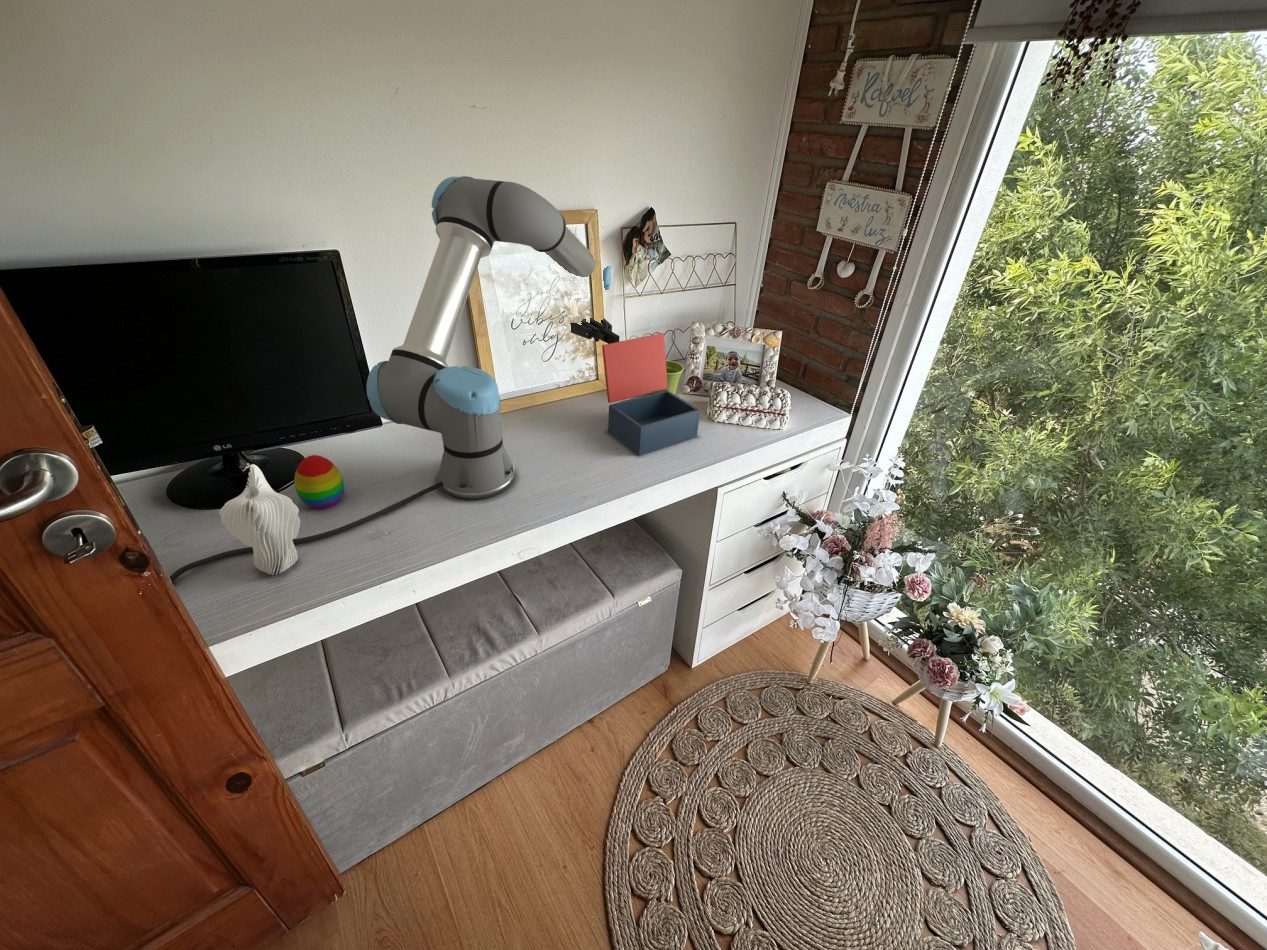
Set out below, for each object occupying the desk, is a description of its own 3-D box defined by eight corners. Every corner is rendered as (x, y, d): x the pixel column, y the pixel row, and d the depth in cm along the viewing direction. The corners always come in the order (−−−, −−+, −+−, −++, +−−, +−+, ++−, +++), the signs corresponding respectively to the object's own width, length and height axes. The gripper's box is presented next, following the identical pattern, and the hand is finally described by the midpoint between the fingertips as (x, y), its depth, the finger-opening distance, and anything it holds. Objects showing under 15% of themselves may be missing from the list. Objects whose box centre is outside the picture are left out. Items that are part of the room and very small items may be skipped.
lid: (664, 333, 141) (662, 333, 142) (603, 345, 132) (601, 345, 133) (667, 388, 146) (665, 387, 147) (609, 403, 138) (608, 402, 138)
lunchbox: (697, 436, 142) (700, 410, 138) (639, 455, 133) (641, 427, 129) (664, 415, 151) (666, 389, 147) (607, 431, 142) (608, 404, 138)
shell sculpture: (278, 589, 93) (243, 498, 83) (240, 574, 95) (202, 483, 85) (319, 558, 99) (291, 470, 89) (283, 545, 101) (252, 457, 92)
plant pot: (664, 385, 167) (667, 357, 162) (687, 397, 161) (690, 368, 156) (639, 393, 161) (641, 364, 157) (662, 406, 155) (665, 376, 151)
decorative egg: (291, 506, 111) (276, 462, 105) (323, 485, 117) (311, 442, 112) (325, 517, 108) (311, 472, 103) (356, 494, 115) (345, 451, 110)
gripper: (588, 324, 165) (637, 351, 149) (548, 331, 158) (594, 360, 142) (589, 297, 161) (638, 323, 145) (547, 303, 154) (594, 331, 138)
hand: (616, 341), depth 144 cm, fingers closed
